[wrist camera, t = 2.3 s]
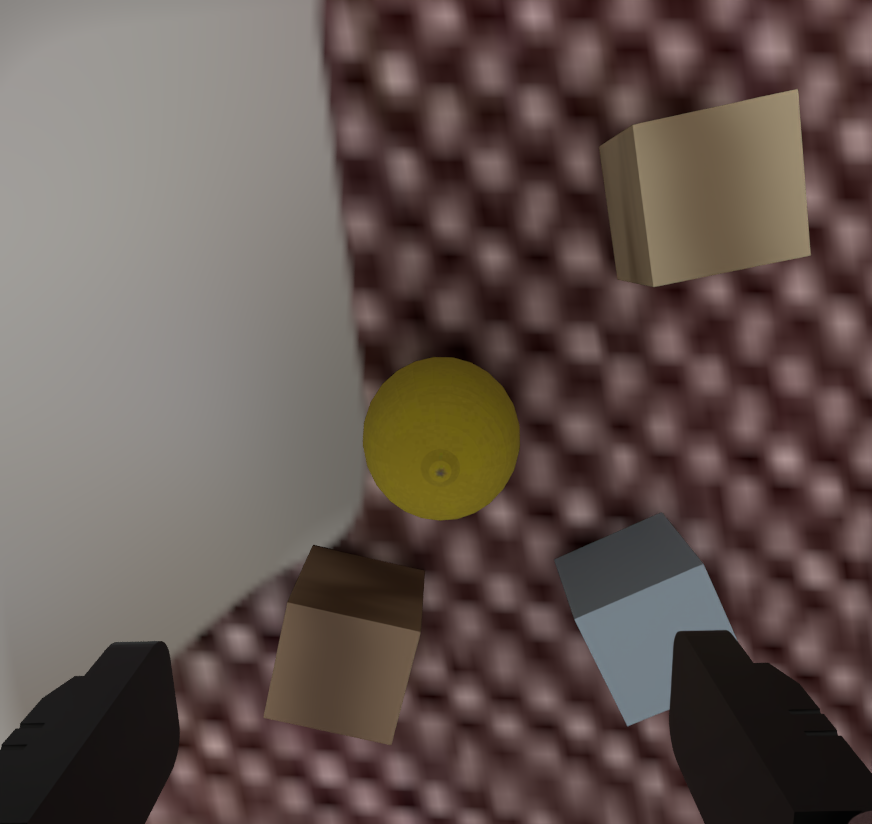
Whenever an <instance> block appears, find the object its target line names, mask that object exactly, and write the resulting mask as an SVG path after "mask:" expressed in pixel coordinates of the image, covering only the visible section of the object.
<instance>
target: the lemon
mask: <svg viewBox="0 0 872 824" xmlns="http://www.w3.org/2000/svg"><path fill="white" fill-rule="evenodd" d="M363 448H364V452H365V457H366V462H367V466H368V468H369V471H370V473H371V475H372V477H373V479H374V481H375V483H376V485H377V486H378V487H379V489H380V490H381V491H382V492H383V493H384V494H385V496H386V497H387V498H388V499H389V500H390V501H391V502H392V503H394V504H395V505H397V506H398V507H399V508H401V509H402V510H404V511H405V512H408V513H410V514H413V515H415V516H418V517H420V518H425V519H432V520H439V521H440V520H450V519H458V518H461V517H464V516H467V515H470V514H473V513H475V512H477V511H478V510H480V509H482V508H483V507H485V506H486V505H488V504H489V503H491V502H492V500H493V499H494V498H495V497H496V496H497V495H498V494H499V493H500V492H501V491H502V490H503V489H504V487H505V485H506V483H507V482H508V480H509V478H510V476H511V474H512V473H513V471H514V468H515V465H516V461H517V457H518V453H519V449H520V430H519V422H518V419H517V415H516V412H515V408H514V405H513V403H512V401H511V400H510V398H509V396H508V395H507V393H506V391H505V390H504V388H503V386H502V385H501V384H500V383H499V382H497V381H496V380H495V379H494V378H493V377H492V376H491V375H490V374H489V373H488V372H487V371H485V370H483V369H481V368H480V367H478V366H476V365H474V364H473V363H471V362H467V361H463V360H460V359H456V358H453V357H432V358H428V359H424V360H419V361H415V362H413V363H411V364H409V365H407V366H405V367H403V368H401V369H400V370H398V371H396V372H395V373H394V374H393V375H392V376H391V377H390V378H389V379H388V380H387V381H385V382H384V383H383V384H382V386H381V387H380V389H379V390H378V392H377V393H376V395H375V396H374V398H373V400H372V401H371V403H370V406H369V409H368V412H367V415H366V418H365V421H364V433H363Z"/></svg>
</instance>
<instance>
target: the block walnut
mask: <svg viewBox="0 0 872 824" xmlns="http://www.w3.org/2000/svg"><path fill="white" fill-rule="evenodd" d="M424 576H425V571H424V570H419V569H415V568H410V567H406V566H402V565H397V564H393V563H388V562H384V561H380V560H375V559H371V558H366V557H362V556H358V555H353V554H349V553H344V552H340V551H336V550H331V549H327V548H326V547H322V546H317V545H313V546H312V548H311V550H310V553H309V555H308V557H307V559H306V562H305V564H304V566H303V568H302V571H301V573H300V575H299V577H298V580H297V582H296V584H295V586H294V589H293V591H292V593H291V595H290V598H289V600H288V602H287V607H286V612H285V616H284V621H283V626H282V631H281V636H280V640H279V645H278V650H277V655H276V660H275V665H274V669H273V674H272V679H271V684H270V689H269V693H268V698H267V703H266V708H265V713H264V718H267V719H272V720H277V721H281V722H286V723H291V724H295V725H300V726H305V727H309V728H314V729H318V730H323V731H328V732H332V733H337V734H342V735H346V736H351V737H356V738H360V739H365V740H369V741H374V742H379V743H383V744H388V745H391V744H392V740H393V736H394V732H395V729H396V725H397V721H398V717H399V713H400V710H401V706H402V702H403V698H404V694H405V690H406V687H407V683H408V679H409V675H410V671H411V667H412V664H413V660H414V656H415V652H416V648H417V645H418V641H419V637H420V633H421V621H422V606H423V591H424Z"/></svg>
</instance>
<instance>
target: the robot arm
mask: <svg viewBox="0 0 872 824" xmlns="http://www.w3.org/2000/svg"><path fill="white" fill-rule="evenodd" d="M669 727H670V736H671V742H672V747H673V751H674V754H675V758H676V760H677V763H678V765H679V767H680V770H681V772H682V774H683V776H684V779H685V781H686V783H687V785H688V787H689V790H690V792H691V794H692V796H693V799H694V801H695V803H696V805H697V807H698V810H699V812H700V814H701V816H702V818H703V821H704V823H705V824H872V773H871V772H870V771H869V769H868V768H867V767H866V766H865V764H864V763H863V762H862V761H861V760H860V758H859V757H858V756H857V755H856V753H855V752H854V751H853V750H852V748H851V747H850V746H849V745H848V743H847V742H846V741H845V740H844V738H843V737H842V736H838V734H837V730H836V729H835V727H834V726H833V725H832V724H831V722H830V721H829V720H828V719H827V717H826V716H825V715H824V714H821V713H820V709H819V708H818V706H817V705H816V704H815V703H814V701H813V700H812V699H811V698H810V696H809V695H808V694H807V693H806V691H805V690H804V689H803V688H802V686H801V685H800V684H799V683H797V682H796V681H794V680H793V679H792V678H790V677H789V676H787V675H786V674H784V673H783V672H781V671H780V670H778V669H777V668H775V667H774V666H772V665H771V664H769V663H753V662H752V660H751V659H750V658H749V656H748V655H747V654H746V652H745V651H744V649H743V648H742V647H741V645H740V644H739V643H738V641H737V640H736V639H735V637H734V636H733V635H732V634H731V632H729V631H728V630H703V631H678V632H677V633H676V635H675V638H674V644H673V659H672V676H671V694H670V711H669ZM179 737H180V727H179V719H178V711H177V704H176V697H175V690H174V682H173V675H172V668H171V661H170V654H169V650H168V647H167V646H166V644H165V643H164V642H162V641H150V642H149V641H148V642H115V643H113V644H111V645H110V646H109V647H108V648H107V649H106V650H105V651H104V653H103V654H102V655H101V656H100V657H99V659H98V660H97V661H96V662H95V663H94V665H93V666H92V667H91V668H90V670H89V671H88V672H87V673H86V674H85V676H74V677H73V678H72V679H70V680H68V681H67V682H66V683H64V684H63V685H61V686H60V687H58V688H57V689H55V690H54V691H52V692H51V693H49V694H48V695H47V696H45V697H44V698H42V699H41V700H40V702H39V703H38V704H37V705H36V706H35V707H34V708H33V710H32V711H31V712H30V713H29V714H28V715H27V716H26V718H25V719H24V720H23V721H22V722H21V723H20V728H19V729H15V730H14V731H13V732H12V734H11V735H10V736H9V737H8V738H7V739H6V740H5V742H4V743H3V744H2V747H1V750H0V824H145V822H146V820H147V818H148V816H149V814H150V812H151V811H152V809H153V807H154V805H155V803H156V801H157V799H158V797H159V795H160V793H161V791H162V789H163V787H164V785H165V783H166V781H167V779H168V777H169V775H170V773H171V771H172V769H173V767H174V764H175V761H176V757H177V753H178V747H179Z"/></svg>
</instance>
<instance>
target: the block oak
mask: <svg viewBox="0 0 872 824" xmlns="http://www.w3.org/2000/svg"><path fill="white" fill-rule="evenodd" d="M599 151H600V158H601V165H602V172H603V179H604V186H605V193H606V201H607V208H608V215H609V222H610V229H611V236H612V243H613V251H614V258H615V265H616V272H617V279H618V280H622V281H627V282H632V283H637V284H641V285H646V286H651V287H656V286H661V285H666V284H671V283H676V282H681V281H686V280H691V279H696V278H701V277H706V276H711V275H716V274H721V273H726V272H731V271H736V270H741V269H746V268H751V267H755V266H760V265H765V264H770V263H775V262H780V261H785V260H790V259H795V258H800V257H805V256H810V242H809V228H808V215H807V202H806V189H805V176H804V163H803V150H802V137H801V123H800V110H799V97H798V89H796V90H791V91H787V92H782V93H777V94H773V95H768V96H764V97H759V98H754V99H750V100H745V101H741V102H736V103H731V104H727V105H722V106H718V107H713V108H708V109H704V110H699V111H694V112H690V113H685V114H681V115H676V116H671V117H667V118H662V119H658V120H653V121H648V122H644V123H639V124H635V125H632V126H630V127H629V128H627V129H626V130H624V131H622V132H621V133H619V134H618V135H616V136H615V137H613V138H612V139H610V140H609V141H607V142H606V143H604V144H603V145H601V146H599Z"/></svg>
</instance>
